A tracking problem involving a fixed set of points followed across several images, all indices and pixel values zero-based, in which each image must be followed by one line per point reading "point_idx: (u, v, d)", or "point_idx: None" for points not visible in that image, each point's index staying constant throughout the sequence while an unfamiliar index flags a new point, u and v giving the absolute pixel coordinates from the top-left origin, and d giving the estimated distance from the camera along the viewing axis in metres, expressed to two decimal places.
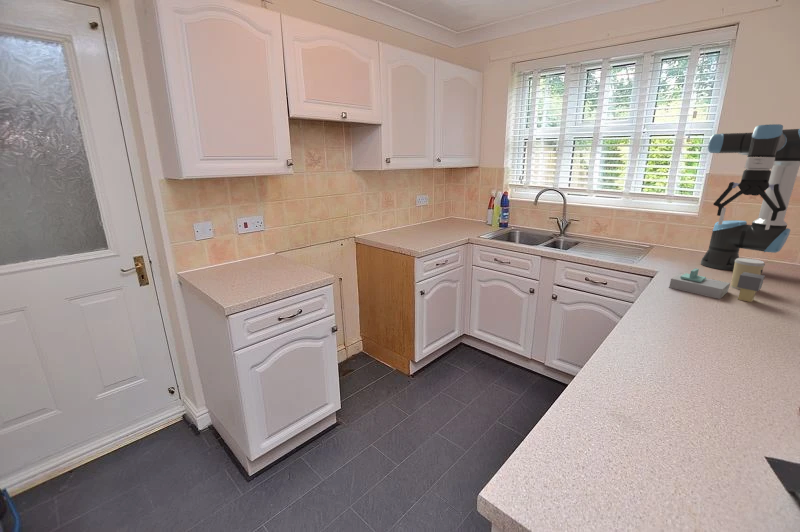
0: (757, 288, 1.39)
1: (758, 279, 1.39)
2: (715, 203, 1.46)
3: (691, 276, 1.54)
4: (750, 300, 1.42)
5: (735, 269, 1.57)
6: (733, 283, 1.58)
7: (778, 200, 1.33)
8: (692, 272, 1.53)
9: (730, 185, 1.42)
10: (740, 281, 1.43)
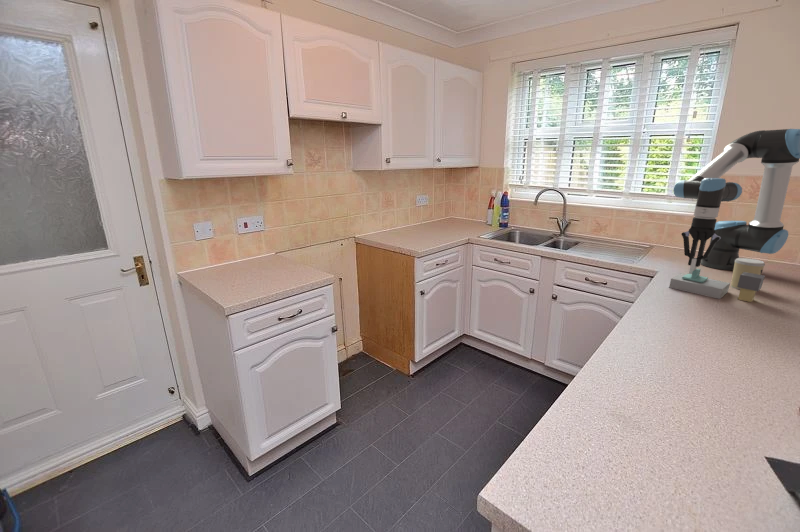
0: (757, 288, 1.39)
1: (758, 279, 1.39)
2: (685, 253, 1.56)
3: (693, 276, 1.53)
4: (750, 300, 1.42)
5: (735, 269, 1.57)
6: (733, 283, 1.58)
7: (708, 249, 1.50)
8: (694, 272, 1.53)
9: (683, 235, 1.55)
10: (740, 281, 1.43)
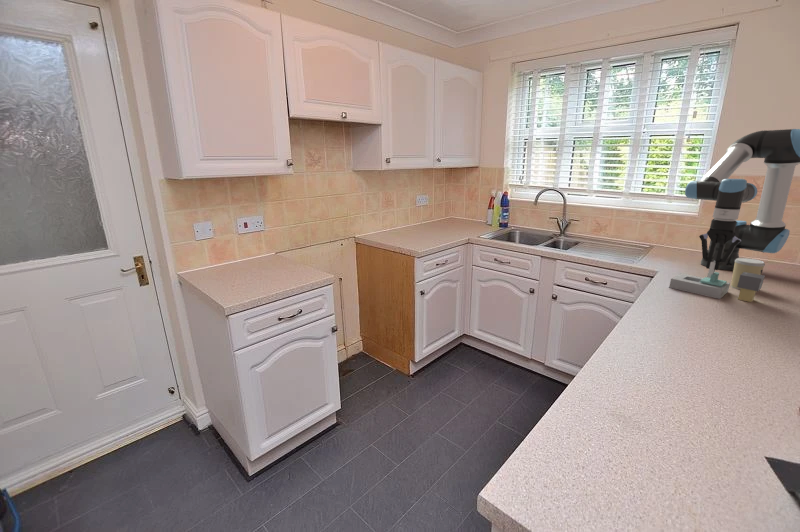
0: (757, 288, 1.39)
1: (758, 279, 1.39)
2: (704, 256, 1.51)
3: (711, 280, 1.49)
4: (750, 300, 1.42)
5: (735, 269, 1.57)
6: (733, 283, 1.58)
7: (727, 252, 1.45)
8: (713, 276, 1.48)
9: (701, 237, 1.50)
10: (740, 281, 1.43)
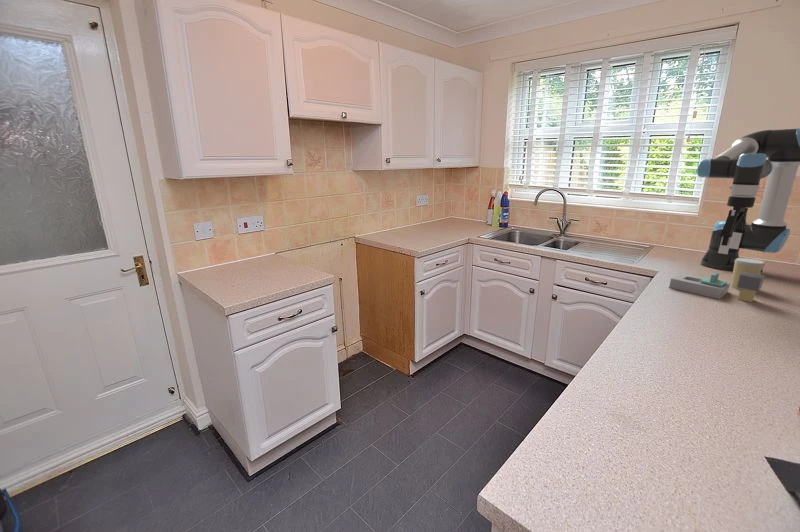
0: (757, 288, 1.39)
1: (758, 279, 1.39)
2: None
3: (711, 280, 1.49)
4: (750, 300, 1.42)
5: (735, 269, 1.57)
6: (733, 283, 1.58)
7: None
8: (713, 276, 1.48)
9: None
10: (740, 281, 1.43)
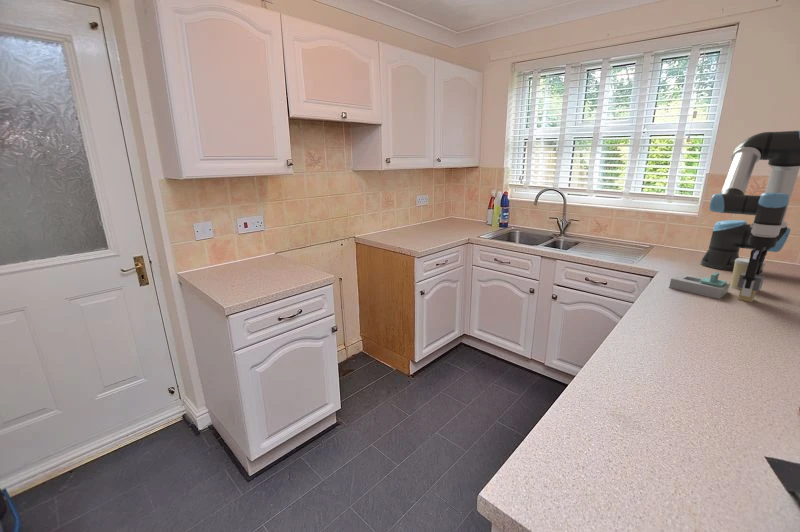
0: (757, 288, 1.39)
1: (758, 279, 1.39)
2: None
3: (711, 280, 1.49)
4: (750, 300, 1.42)
5: (735, 269, 1.57)
6: (733, 283, 1.58)
7: None
8: (713, 276, 1.48)
9: None
10: (740, 281, 1.43)
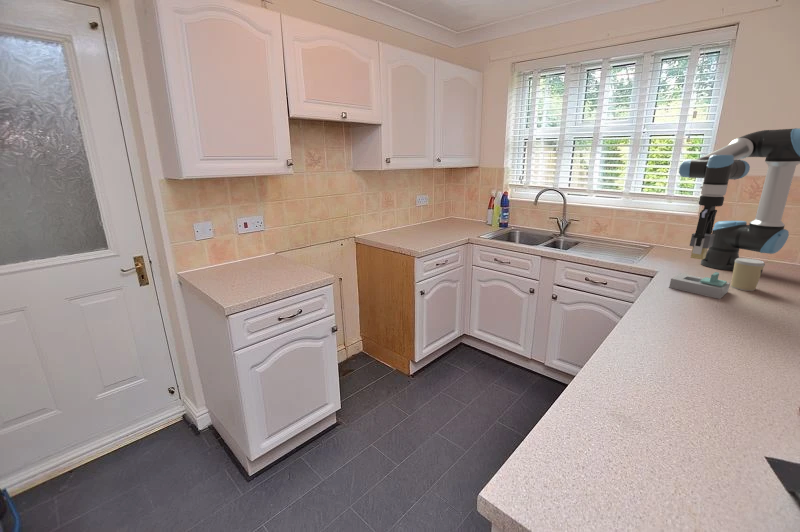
0: (707, 245, 1.48)
1: (707, 237, 1.47)
2: None
3: (711, 280, 1.49)
4: (701, 258, 1.51)
5: (735, 269, 1.57)
6: (733, 283, 1.58)
7: None
8: (713, 276, 1.48)
9: None
10: (692, 239, 1.52)
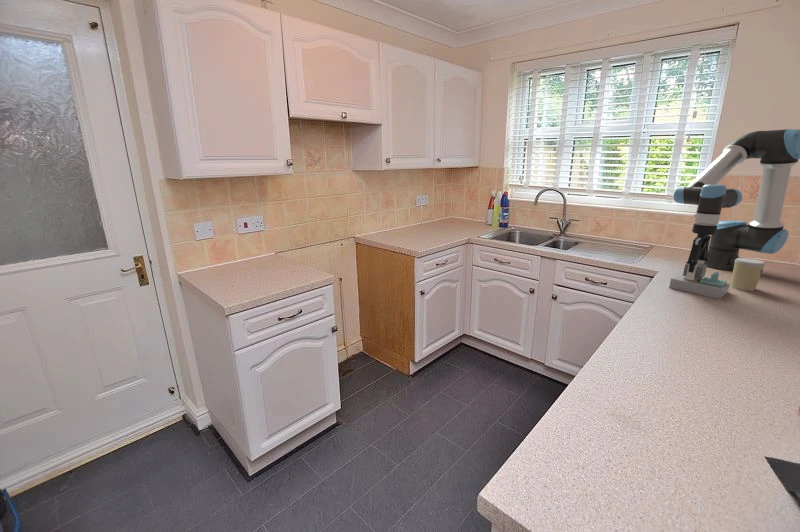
0: (699, 276, 1.52)
1: (700, 268, 1.51)
2: None
3: (711, 280, 1.49)
4: None
5: (735, 269, 1.57)
6: (733, 283, 1.58)
7: None
8: (713, 276, 1.48)
9: None
10: (685, 270, 1.55)
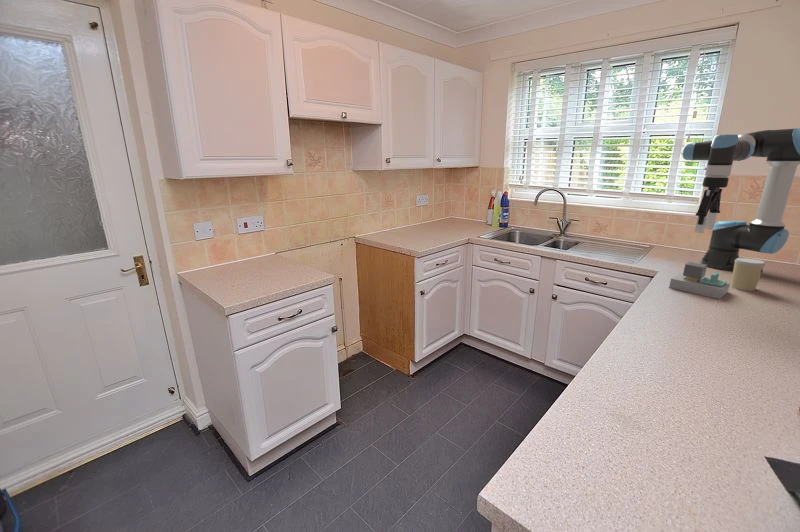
0: (699, 276, 1.52)
1: (700, 268, 1.51)
2: None
3: (711, 280, 1.49)
4: None
5: (735, 269, 1.57)
6: (733, 283, 1.58)
7: None
8: (713, 276, 1.48)
9: None
10: (685, 270, 1.55)
